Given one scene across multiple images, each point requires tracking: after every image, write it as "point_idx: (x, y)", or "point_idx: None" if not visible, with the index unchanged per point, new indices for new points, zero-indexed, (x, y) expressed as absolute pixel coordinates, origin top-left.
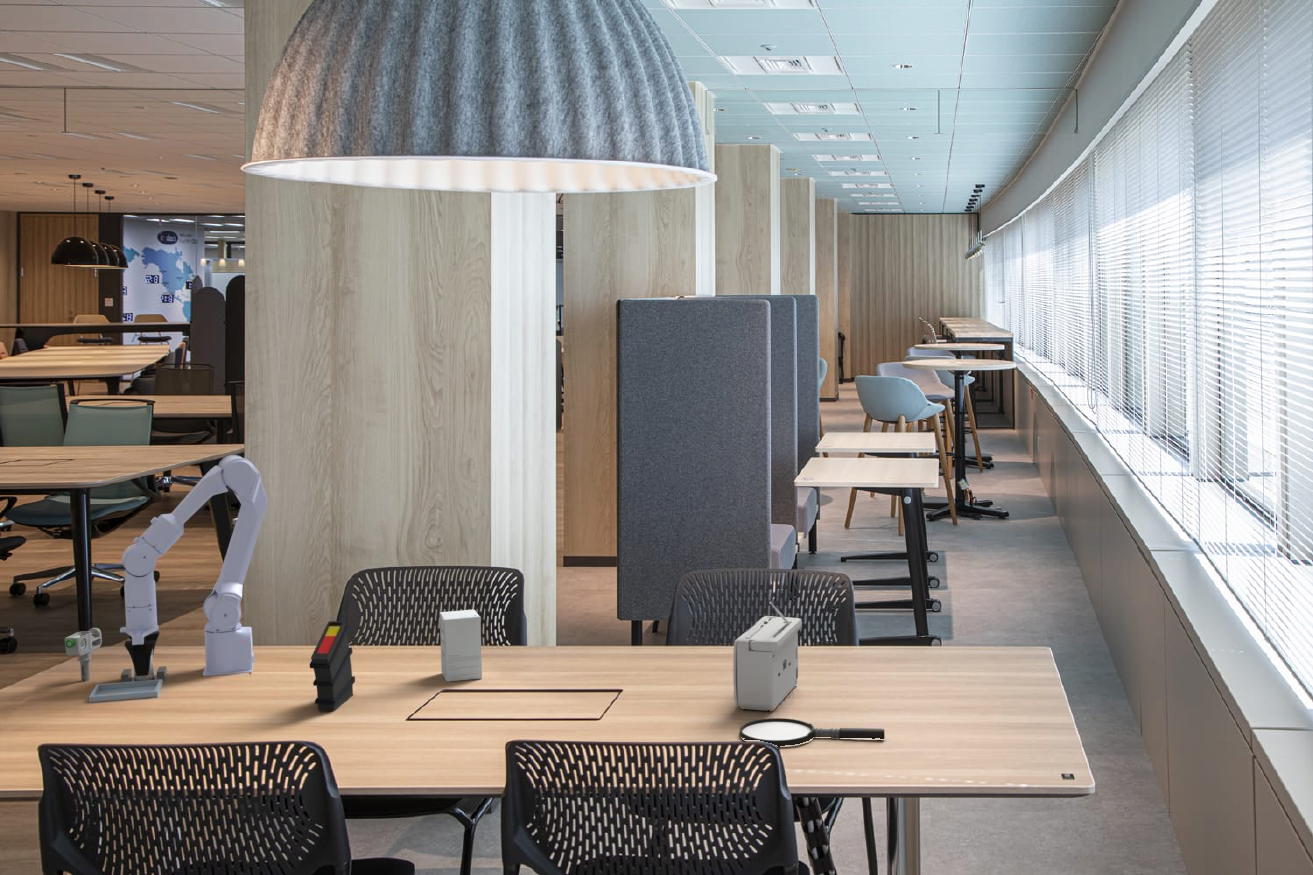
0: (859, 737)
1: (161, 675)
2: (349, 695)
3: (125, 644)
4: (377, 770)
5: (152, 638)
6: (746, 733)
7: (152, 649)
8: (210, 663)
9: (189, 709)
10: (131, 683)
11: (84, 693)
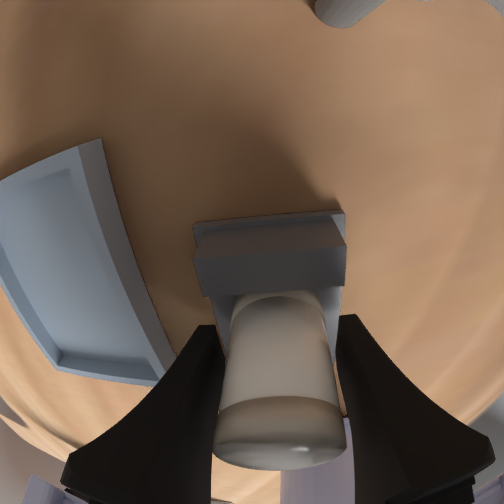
0: None
1: None
2: None
3: (62, 474)
4: (12, 424)
5: (360, 500)
6: None
7: (270, 469)
8: None
9: (40, 386)
10: (122, 304)
11: (87, 85)
